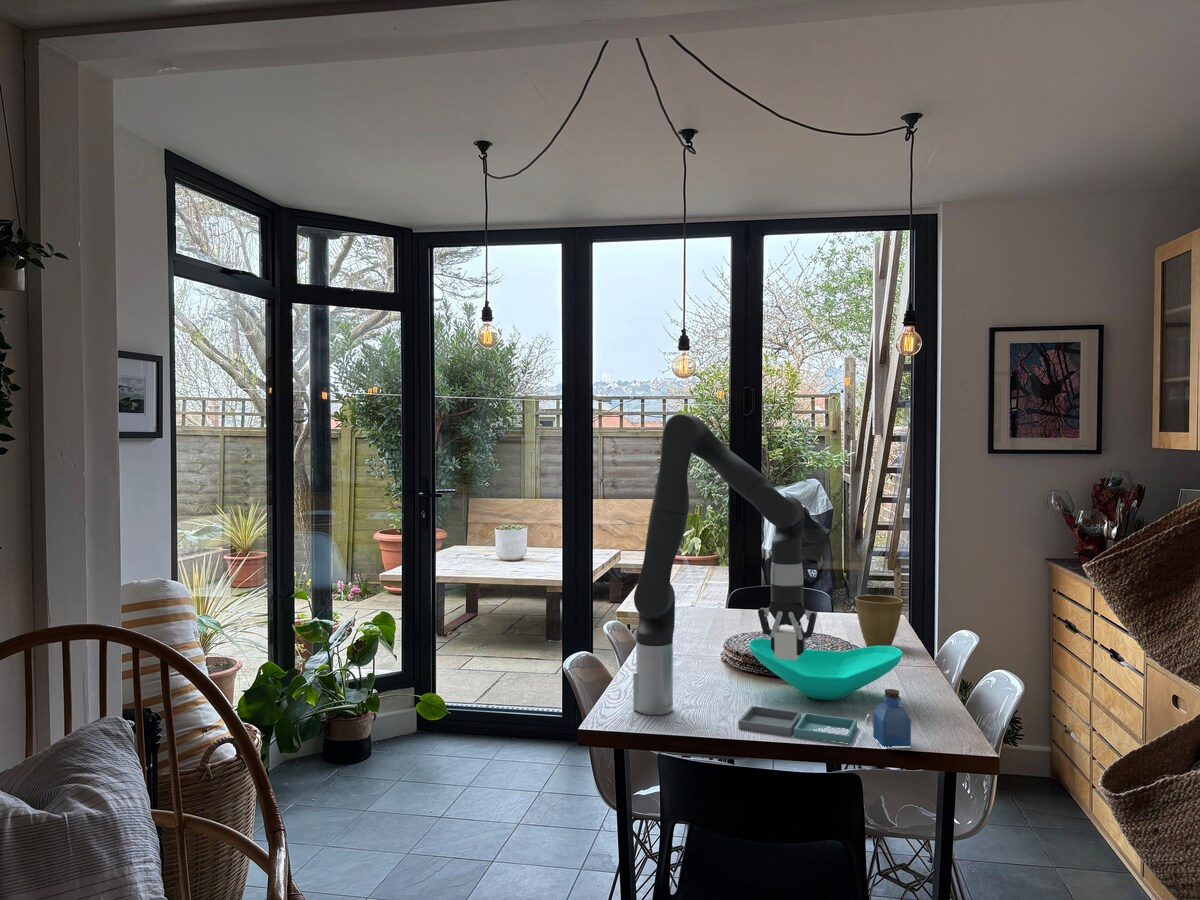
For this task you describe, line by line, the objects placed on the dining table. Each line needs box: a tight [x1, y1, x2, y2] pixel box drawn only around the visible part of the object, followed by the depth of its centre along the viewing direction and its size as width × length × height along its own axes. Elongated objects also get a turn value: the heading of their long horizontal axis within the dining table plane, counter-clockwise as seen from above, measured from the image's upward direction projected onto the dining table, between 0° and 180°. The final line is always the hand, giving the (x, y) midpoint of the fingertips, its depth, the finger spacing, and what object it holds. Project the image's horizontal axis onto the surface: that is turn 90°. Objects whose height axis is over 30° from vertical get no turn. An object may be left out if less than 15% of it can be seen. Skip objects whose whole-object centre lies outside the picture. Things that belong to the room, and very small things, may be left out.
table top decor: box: [748, 637, 904, 701], centre depth 226 cm, size 40×28×13 cm
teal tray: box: [793, 712, 858, 745], centre depth 197 cm, size 12×12×2 cm
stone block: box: [774, 627, 799, 660], centre depth 201 cm, size 5×5×6 cm
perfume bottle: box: [872, 688, 912, 747], centre depth 191 cm, size 6×6×12 cm
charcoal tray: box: [737, 705, 802, 737], centre depth 203 cm, size 12×12×2 cm
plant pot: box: [854, 594, 904, 647], centre depth 278 cm, size 15×15×16 cm
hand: (787, 653), depth 201 cm, fingers closed on stone block, 5 cm apart
